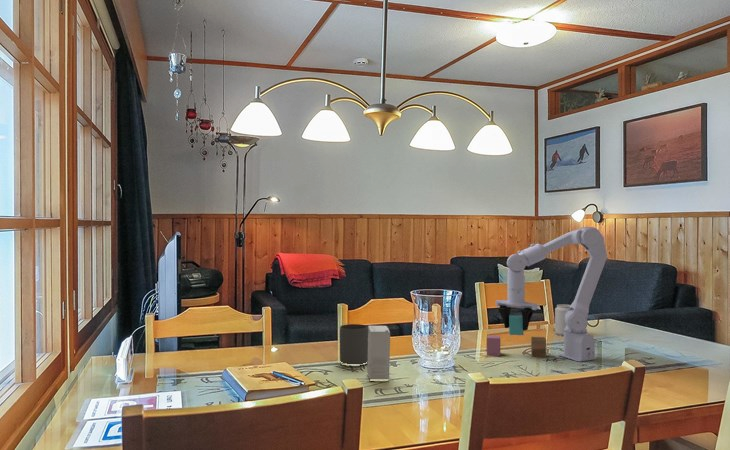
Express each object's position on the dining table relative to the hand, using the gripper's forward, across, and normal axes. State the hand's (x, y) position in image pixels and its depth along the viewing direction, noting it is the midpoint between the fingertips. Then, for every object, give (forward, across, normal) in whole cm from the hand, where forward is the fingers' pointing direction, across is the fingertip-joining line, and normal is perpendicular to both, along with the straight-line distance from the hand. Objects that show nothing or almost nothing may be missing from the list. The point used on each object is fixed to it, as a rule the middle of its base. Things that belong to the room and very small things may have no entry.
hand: (516, 328), depth 192 cm
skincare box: (+9, +17, +53) cm, 56 cm away
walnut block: (+9, -6, -4) cm, 12 cm away
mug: (+9, +36, +44) cm, 57 cm away
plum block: (+9, +6, +4) cm, 12 cm away
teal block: (+2, 0, 0) cm, 2 cm away
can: (+9, +1, -44) cm, 45 cm away
